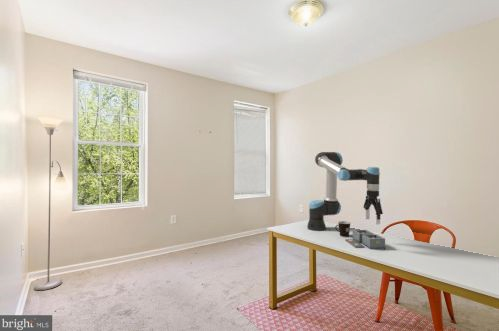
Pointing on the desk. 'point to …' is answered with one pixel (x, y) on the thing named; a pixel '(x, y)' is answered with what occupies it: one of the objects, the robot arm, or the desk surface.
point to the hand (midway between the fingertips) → (372, 221)
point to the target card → (354, 243)
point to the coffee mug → (343, 228)
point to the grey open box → (373, 241)
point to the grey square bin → (360, 234)
